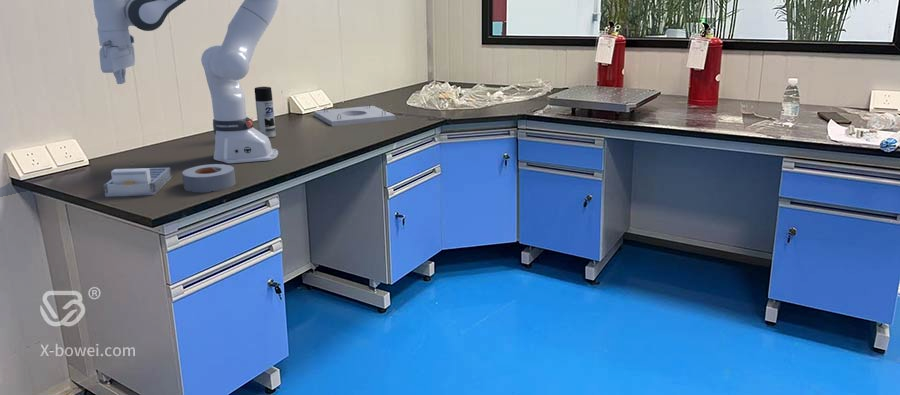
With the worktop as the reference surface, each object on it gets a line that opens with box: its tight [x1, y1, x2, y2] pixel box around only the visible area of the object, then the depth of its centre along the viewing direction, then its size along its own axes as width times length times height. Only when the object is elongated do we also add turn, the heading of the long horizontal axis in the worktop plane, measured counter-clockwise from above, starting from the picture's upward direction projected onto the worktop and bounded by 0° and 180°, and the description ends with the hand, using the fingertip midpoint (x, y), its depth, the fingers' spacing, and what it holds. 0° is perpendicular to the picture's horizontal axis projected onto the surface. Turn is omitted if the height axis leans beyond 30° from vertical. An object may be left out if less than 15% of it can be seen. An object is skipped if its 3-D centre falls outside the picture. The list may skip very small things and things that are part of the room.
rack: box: [102, 167, 173, 198], centre depth 205 cm, size 14×18×4 cm
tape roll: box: [181, 163, 236, 193], centre depth 207 cm, size 15×15×5 cm
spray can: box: [254, 86, 277, 139], centre depth 268 cm, size 7×7×20 cm
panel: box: [110, 167, 151, 184], centre depth 199 cm, size 10×3×6 cm, turn 96°
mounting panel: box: [313, 103, 397, 127], centre depth 307 cm, size 27×5×30 cm
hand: (121, 83), depth 214 cm, fingers closed
